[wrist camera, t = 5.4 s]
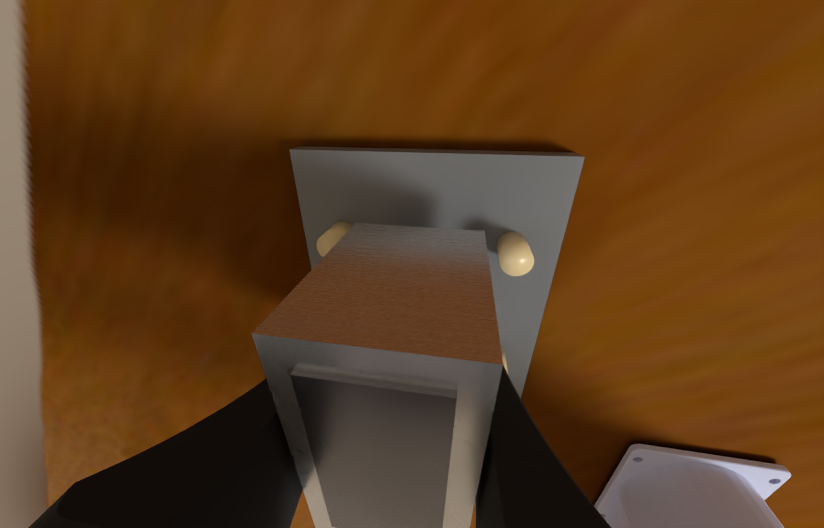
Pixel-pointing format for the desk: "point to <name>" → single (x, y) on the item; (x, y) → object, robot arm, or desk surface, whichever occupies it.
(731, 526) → the robot arm
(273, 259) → the desk surface
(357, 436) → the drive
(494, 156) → the tray
